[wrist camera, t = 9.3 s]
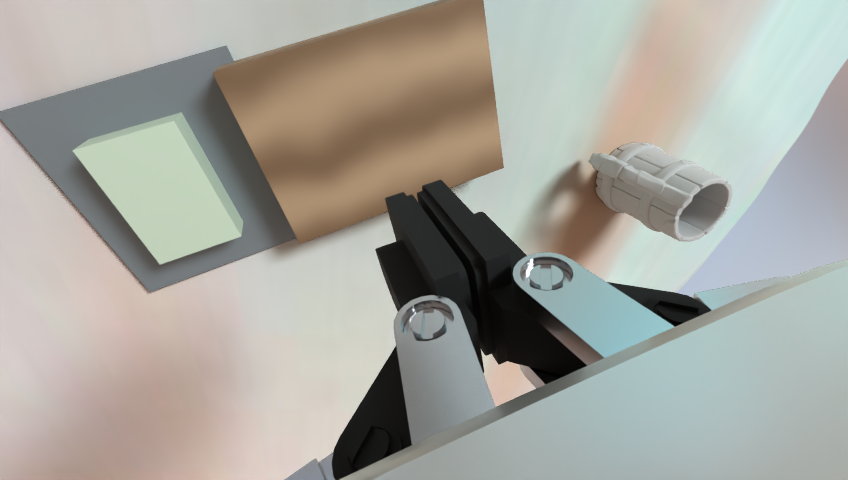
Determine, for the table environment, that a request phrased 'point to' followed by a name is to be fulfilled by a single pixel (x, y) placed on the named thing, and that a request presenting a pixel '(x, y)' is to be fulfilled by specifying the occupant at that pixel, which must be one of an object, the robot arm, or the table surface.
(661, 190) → the mug
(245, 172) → the mat
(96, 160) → the tile
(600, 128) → the table surface
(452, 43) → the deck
